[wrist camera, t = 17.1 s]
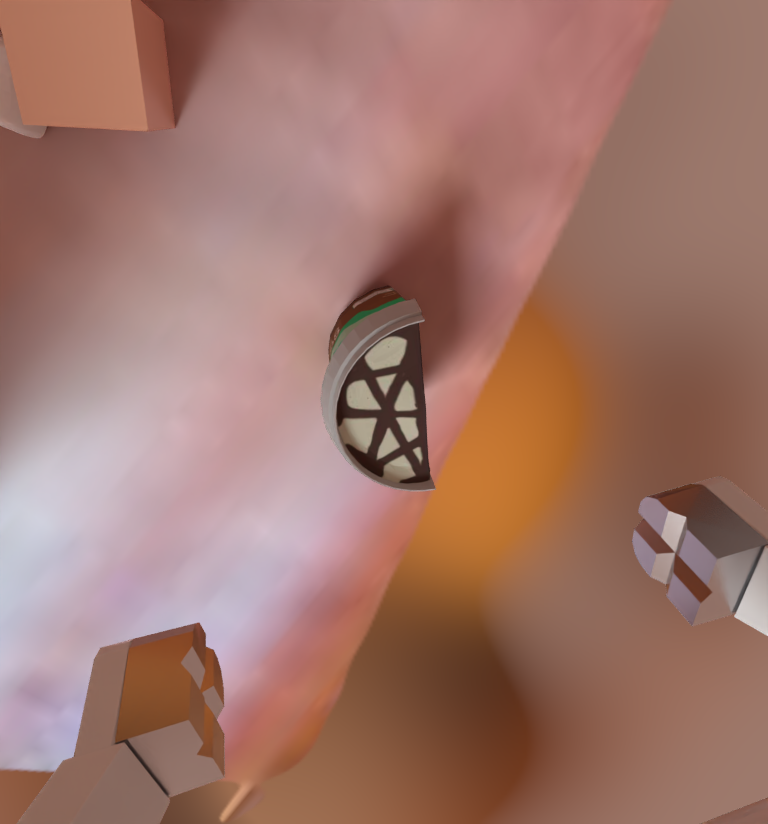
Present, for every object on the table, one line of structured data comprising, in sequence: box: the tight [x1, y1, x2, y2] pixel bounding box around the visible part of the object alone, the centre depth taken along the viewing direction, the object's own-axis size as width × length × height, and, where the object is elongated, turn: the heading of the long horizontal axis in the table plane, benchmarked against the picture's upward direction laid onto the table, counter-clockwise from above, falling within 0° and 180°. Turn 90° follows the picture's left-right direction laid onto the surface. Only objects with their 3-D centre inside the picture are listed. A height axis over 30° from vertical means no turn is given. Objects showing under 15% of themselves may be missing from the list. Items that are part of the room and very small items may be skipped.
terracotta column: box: [0, 0, 175, 131], centre depth 26 cm, size 5×5×8 cm
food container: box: [321, 286, 436, 491], centre depth 35 cm, size 12×6×10 cm, turn 6°
